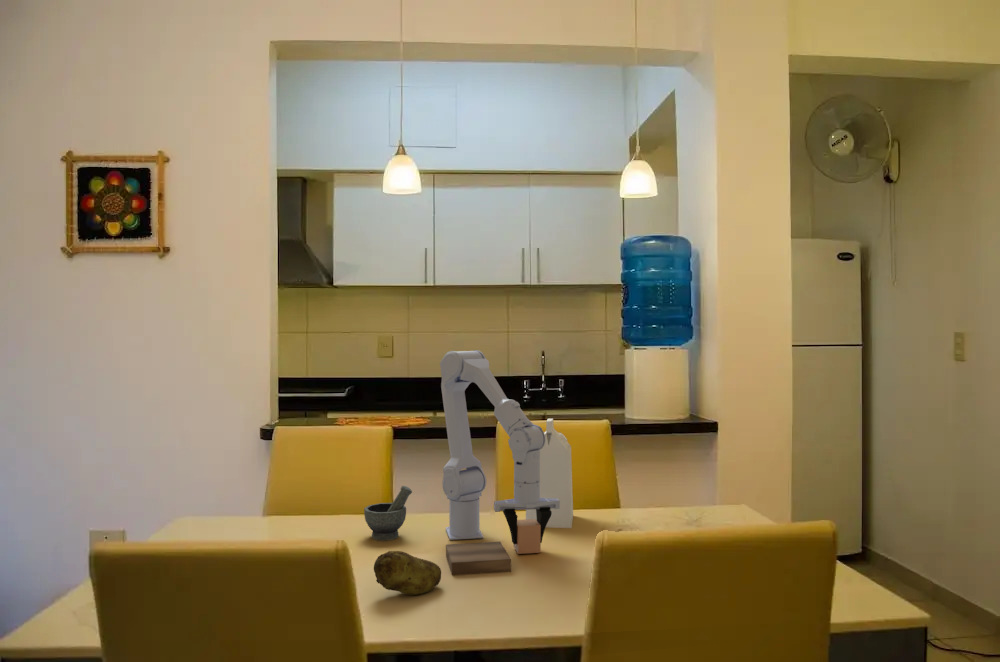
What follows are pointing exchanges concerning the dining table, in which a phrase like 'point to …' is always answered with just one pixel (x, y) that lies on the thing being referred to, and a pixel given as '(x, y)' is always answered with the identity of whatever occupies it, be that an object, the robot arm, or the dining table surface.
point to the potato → (406, 573)
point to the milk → (556, 477)
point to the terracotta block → (528, 536)
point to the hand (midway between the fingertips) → (526, 542)
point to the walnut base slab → (477, 558)
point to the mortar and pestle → (387, 516)
